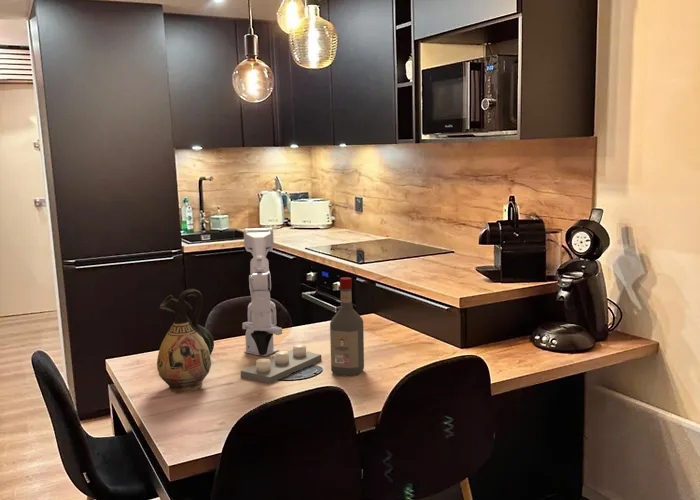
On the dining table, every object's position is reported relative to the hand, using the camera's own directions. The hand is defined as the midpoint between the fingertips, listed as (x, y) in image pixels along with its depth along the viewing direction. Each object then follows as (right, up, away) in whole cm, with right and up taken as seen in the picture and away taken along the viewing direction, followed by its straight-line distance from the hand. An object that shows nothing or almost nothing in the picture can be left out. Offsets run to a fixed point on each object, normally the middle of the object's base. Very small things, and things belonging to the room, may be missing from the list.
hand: (263, 354), depth 202 cm
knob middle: (+5, -6, +8) cm, 11 cm away
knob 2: (+10, -5, +16) cm, 19 cm away
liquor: (+26, -6, +4) cm, 27 cm away
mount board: (+5, -6, +8) cm, 11 cm away
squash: (-26, -5, +17) cm, 32 cm away
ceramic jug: (-21, -9, -7) cm, 24 cm away
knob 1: (0, -7, +1) cm, 7 cm away
